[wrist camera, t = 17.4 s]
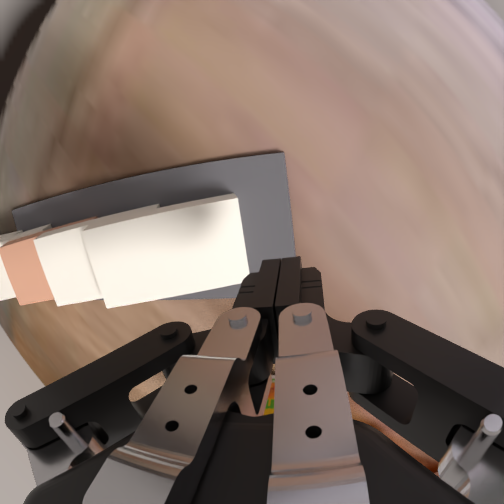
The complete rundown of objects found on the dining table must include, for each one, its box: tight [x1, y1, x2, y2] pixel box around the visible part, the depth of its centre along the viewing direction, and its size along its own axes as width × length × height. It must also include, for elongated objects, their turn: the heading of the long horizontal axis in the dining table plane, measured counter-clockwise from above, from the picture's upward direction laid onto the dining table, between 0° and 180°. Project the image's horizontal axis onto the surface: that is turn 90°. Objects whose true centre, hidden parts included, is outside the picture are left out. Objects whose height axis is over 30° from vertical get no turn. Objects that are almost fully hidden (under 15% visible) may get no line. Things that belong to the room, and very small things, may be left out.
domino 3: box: [33, 204, 160, 306], centre depth 18 cm, size 2×5×9 cm
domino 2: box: [0, 216, 98, 305], centre depth 19 cm, size 2×5×9 cm
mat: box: [12, 152, 296, 300], centre depth 20 cm, size 24×9×1 cm, turn 98°
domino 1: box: [0, 224, 52, 301], centre depth 20 cm, size 2×5×9 cm
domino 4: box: [81, 193, 250, 308], centre depth 17 cm, size 2×5×9 cm
